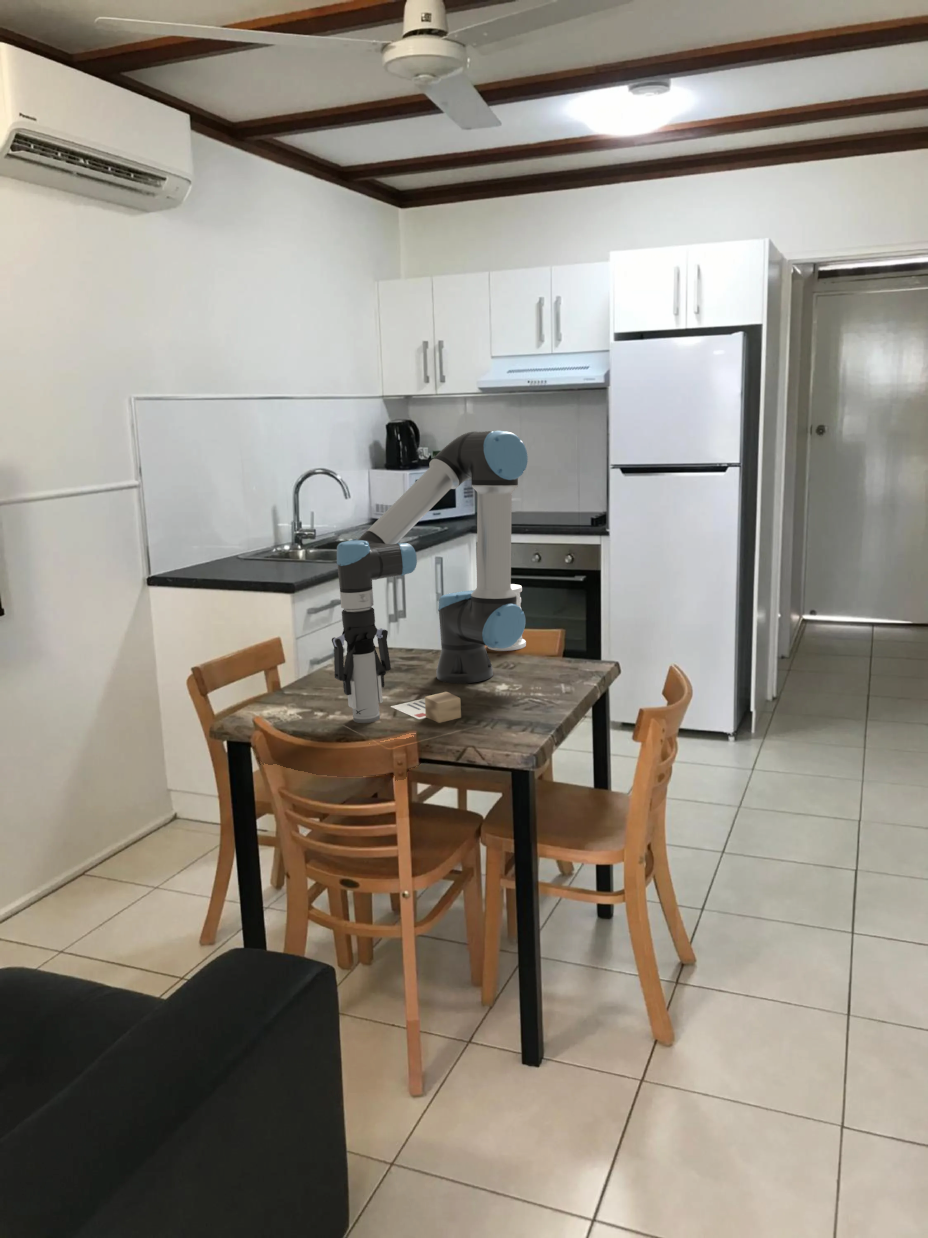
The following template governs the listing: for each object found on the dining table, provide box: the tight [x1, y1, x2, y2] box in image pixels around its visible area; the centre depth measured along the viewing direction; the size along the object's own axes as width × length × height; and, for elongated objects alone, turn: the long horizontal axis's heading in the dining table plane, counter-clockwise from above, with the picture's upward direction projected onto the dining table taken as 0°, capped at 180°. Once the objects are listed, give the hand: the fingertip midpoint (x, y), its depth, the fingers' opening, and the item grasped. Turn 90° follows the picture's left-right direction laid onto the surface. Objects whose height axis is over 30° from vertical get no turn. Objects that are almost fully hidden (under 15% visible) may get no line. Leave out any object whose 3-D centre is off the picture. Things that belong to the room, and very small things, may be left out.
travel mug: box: [346, 639, 381, 724], centre depth 234 cm, size 6×7×20 cm
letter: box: [390, 697, 428, 720], centre depth 241 cm, size 14×10×1 cm
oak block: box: [424, 691, 462, 724], centre depth 233 cm, size 6×6×5 cm
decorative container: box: [487, 583, 527, 652], centre depth 298 cm, size 12×12×18 cm
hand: (365, 704), depth 235 cm, fingers closed on travel mug, 6 cm apart
